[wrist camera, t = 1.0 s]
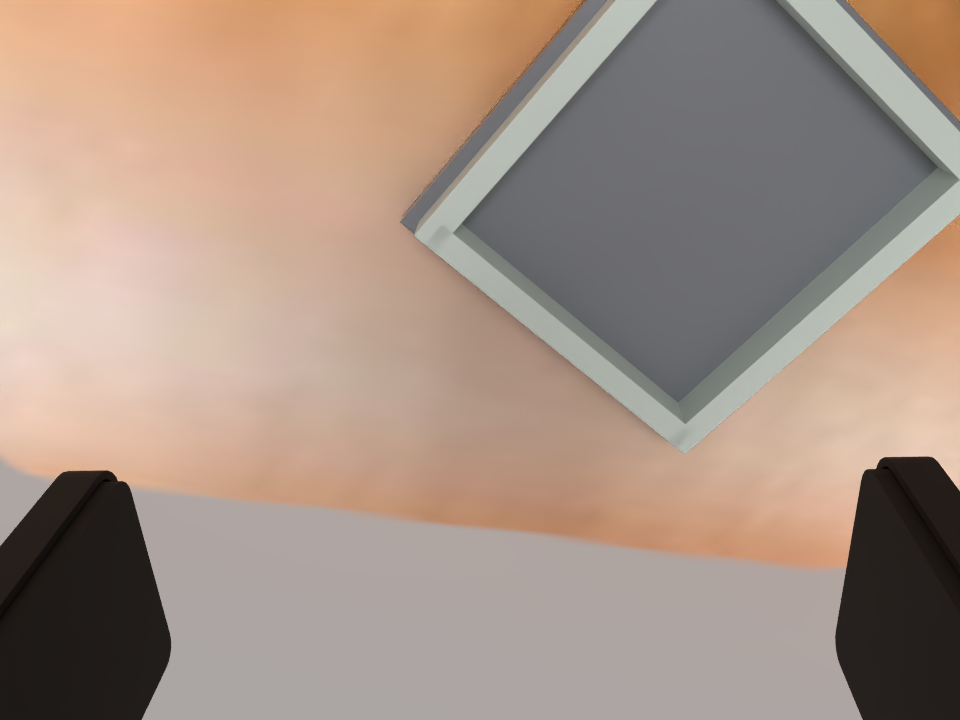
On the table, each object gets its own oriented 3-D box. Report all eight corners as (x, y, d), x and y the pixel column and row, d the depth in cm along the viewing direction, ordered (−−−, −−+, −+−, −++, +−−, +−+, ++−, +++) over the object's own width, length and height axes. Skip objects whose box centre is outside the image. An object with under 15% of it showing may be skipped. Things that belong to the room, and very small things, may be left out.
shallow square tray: (703, -142, 29) (721, -149, 27) (985, 156, 33) (1023, 175, 31) (403, 214, 35) (394, 237, 33) (673, 434, 39) (684, 469, 36)
